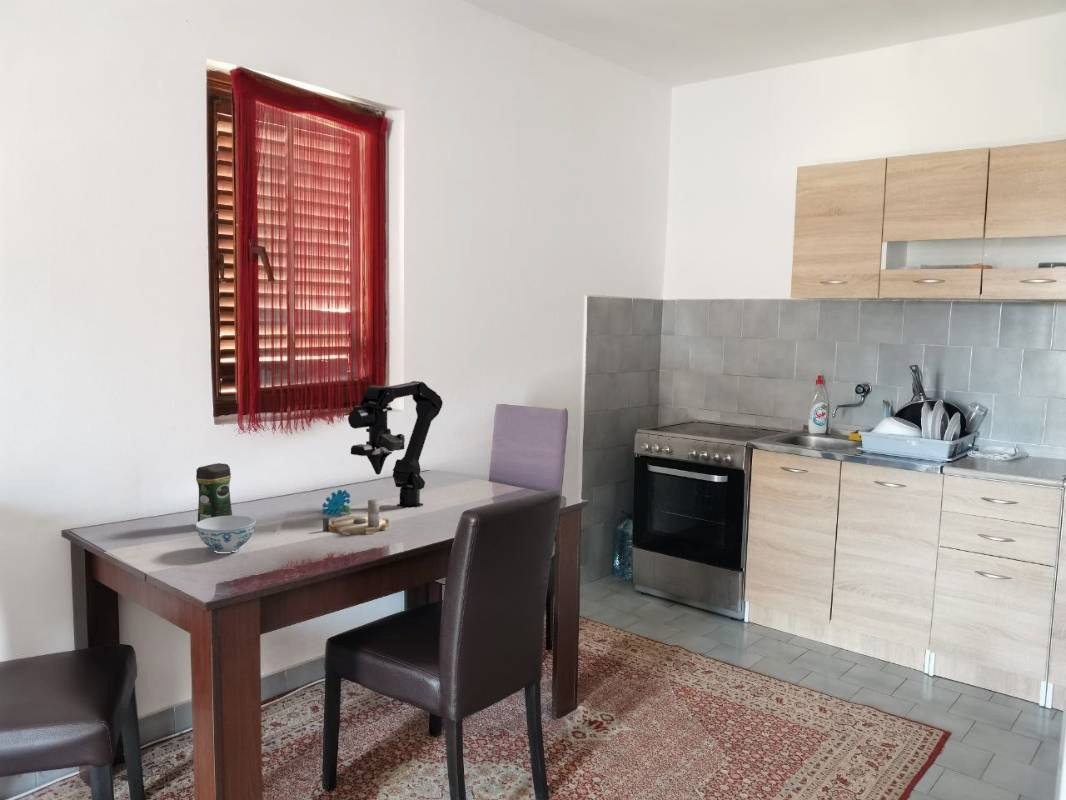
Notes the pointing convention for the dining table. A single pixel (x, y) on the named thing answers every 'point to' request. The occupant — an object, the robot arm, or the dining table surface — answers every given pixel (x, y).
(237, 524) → the chinaware
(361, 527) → the turntable
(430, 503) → the dining table surface
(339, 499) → the gear
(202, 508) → the coffee jar
